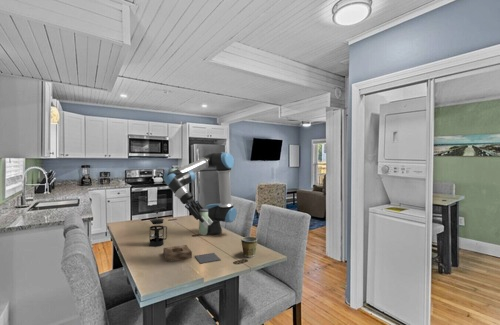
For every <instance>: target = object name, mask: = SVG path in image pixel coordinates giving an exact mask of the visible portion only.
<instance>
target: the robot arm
mask: <svg viewBox="0 0 500 325" xmlns="http://www.w3.org/2000/svg"><path fill="white" fill-rule="evenodd" d="M234 163H235V160H234V157H233V155H232V153H229V152H211V153H208V154H206V155H203V156H202V157H199V159H197V160H195V161H193V162H191V163H188V164H187V165H184V166H182V167H179V168H177V169H174V170H171V171H166V172H164V174H163V180H164V183H165V184H166V185H167V187H168V188H169V189H170V190H171V191H172V193H173V194H174V195H175V197H176V198H178V200H179V201H180V202H181V204H183V205H184V208H185V209H187V211H188V212H189V213H190V214H191V215H192V217H194V219H195V220H196V221H199V220H200V222H201V223H202V224H203V225H204V226H205V227H207V226H208V230H207V234H205V235H207V236H217V235H221V234H222V232H223V229H222V225H221V222H223V223H233V222H234V221H235V220H236V218H237V216H238V215H237V214H238V212H237V208H235V207H234V204H233V202H232V194H231V176H230V172H231V171H232V169H233V167H234V165H235V164H234ZM211 168H213V169H215V172H217V174H218V175H217V176H218V189H219V203H211V204H207V205H206V206H205V208H204V207H203V206H202V205H201V203H200V201H199V200H196V199H195V200H194V199H193V198H194V194H193V193H192V192H191V191H189V189H188V188H187V187H186V185H188V184H191V183H192V182H194V181H195V180H196V173H197V172H199V171H202V170H207V169H211ZM200 209H208V222H207V221H206V220H205V219H204V217H203V216H201V215H200Z"/></svg>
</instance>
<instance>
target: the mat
mask: <svg viewBox="0 0 500 325" xmlns="http://www.w3.org/2000/svg"><path fill="white" fill-rule="evenodd" d="M194 258H195V259H196V261H198V263H199V264H200V265H202V264H208V263H214V262H219V261H222V260H221V258H220V257H219V256H218V255H217V254H216V253H215V252H209V253H204V254H197V255H194Z"/></svg>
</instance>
